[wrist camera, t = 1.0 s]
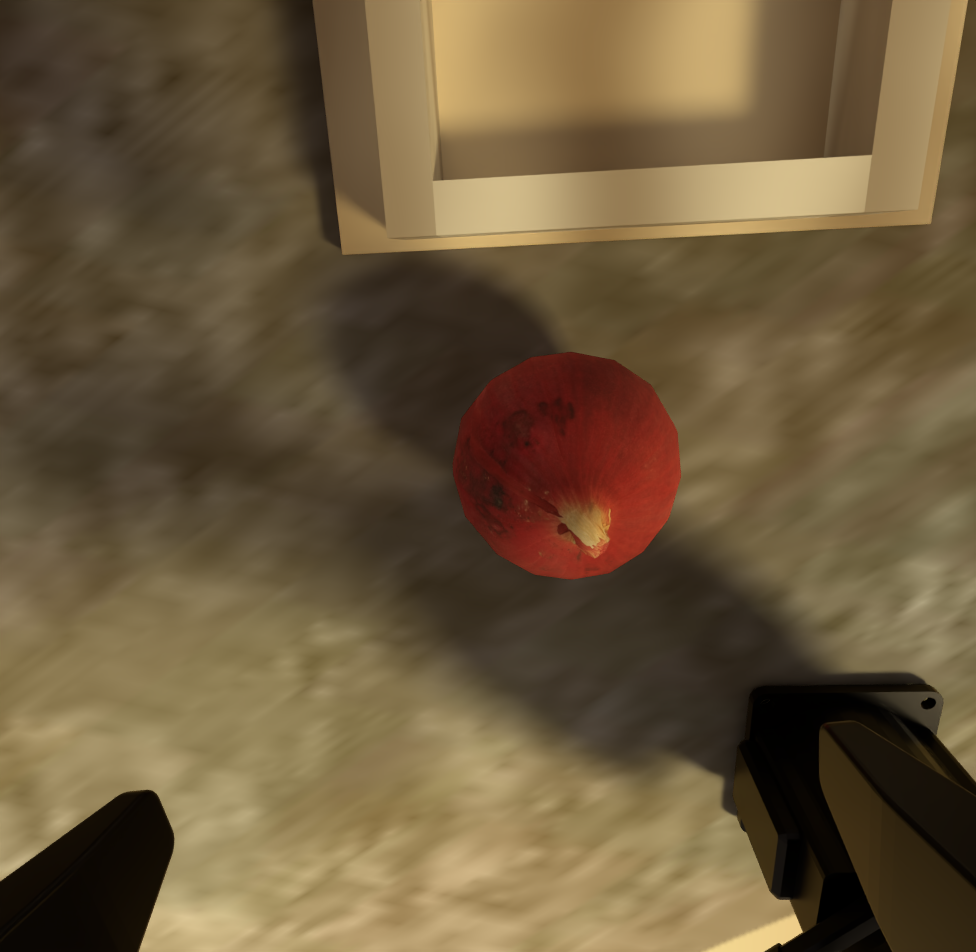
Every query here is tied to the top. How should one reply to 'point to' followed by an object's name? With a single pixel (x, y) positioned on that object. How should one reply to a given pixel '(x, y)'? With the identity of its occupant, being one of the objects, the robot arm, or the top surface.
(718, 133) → the tray
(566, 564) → the onion
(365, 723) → the top surface
